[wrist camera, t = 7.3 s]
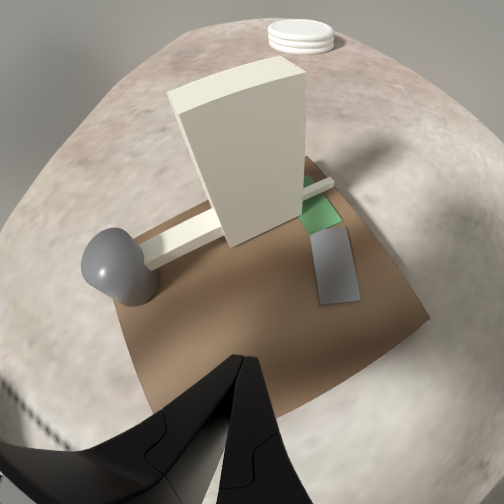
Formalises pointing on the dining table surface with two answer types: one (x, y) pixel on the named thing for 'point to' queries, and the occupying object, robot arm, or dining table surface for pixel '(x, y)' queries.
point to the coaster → (301, 36)
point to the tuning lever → (221, 173)
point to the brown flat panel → (273, 305)
